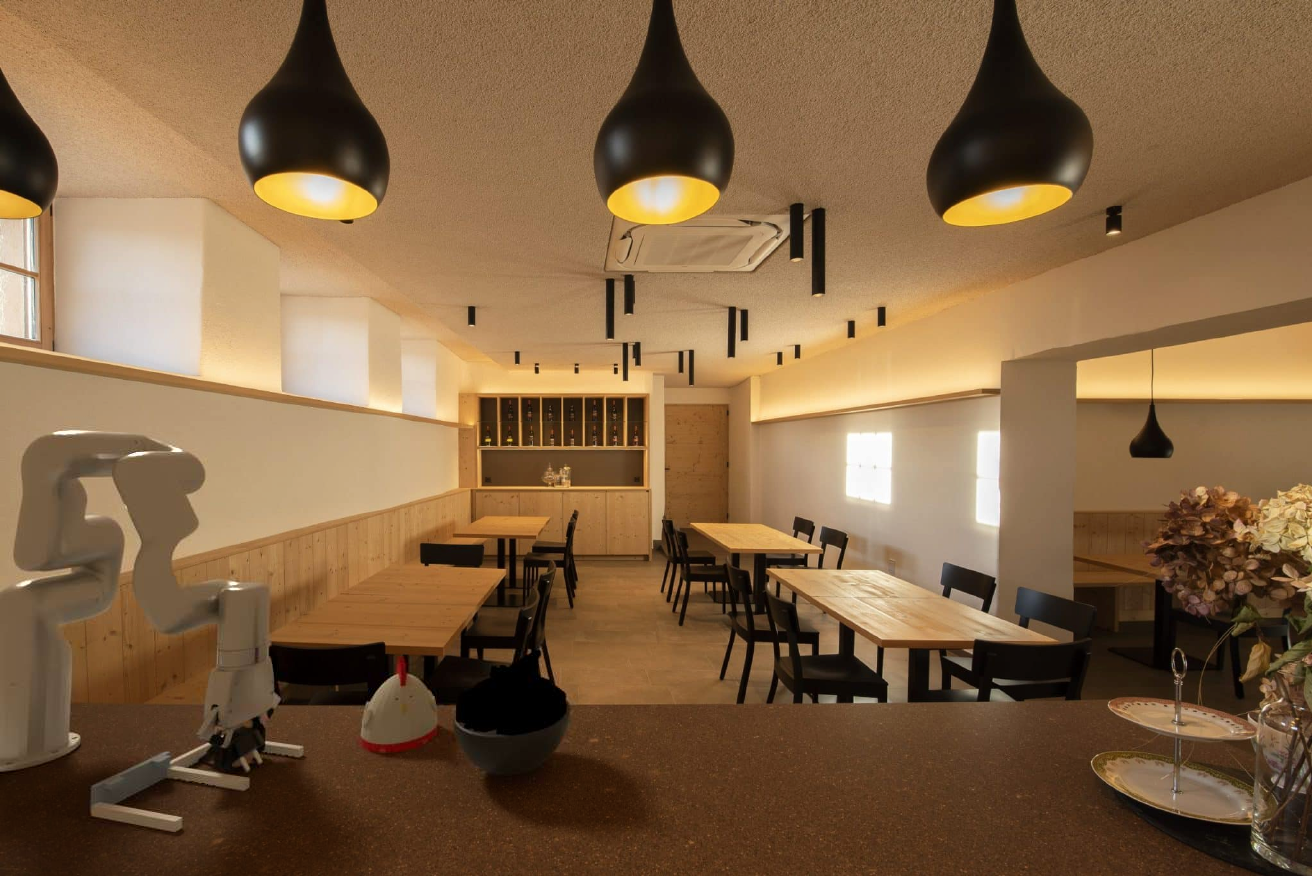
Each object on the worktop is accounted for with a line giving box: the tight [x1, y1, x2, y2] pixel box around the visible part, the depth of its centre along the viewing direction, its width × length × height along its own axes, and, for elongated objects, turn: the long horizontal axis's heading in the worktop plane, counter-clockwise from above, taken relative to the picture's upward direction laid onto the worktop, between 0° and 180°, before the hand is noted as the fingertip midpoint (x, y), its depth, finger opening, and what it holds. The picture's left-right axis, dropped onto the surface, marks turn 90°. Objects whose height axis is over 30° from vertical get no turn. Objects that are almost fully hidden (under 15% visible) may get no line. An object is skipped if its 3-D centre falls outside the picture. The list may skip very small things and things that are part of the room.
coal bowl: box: [453, 649, 572, 777], centre depth 105 cm, size 20×20×19 cm
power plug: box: [198, 724, 266, 773], centre depth 105 cm, size 6×8×12 cm
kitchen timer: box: [359, 656, 439, 754], centre depth 117 cm, size 14×14×15 cm
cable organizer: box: [89, 734, 304, 833], centre depth 99 cm, size 17×23×4 cm
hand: (240, 758), depth 104 cm, fingers closed on power plug, 5 cm apart
